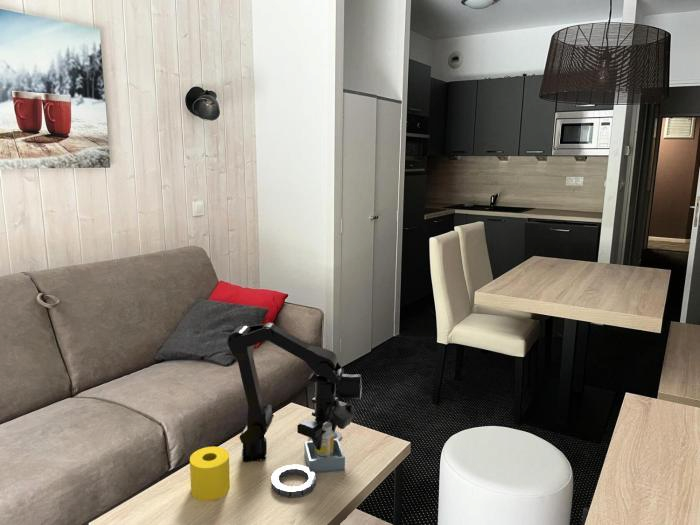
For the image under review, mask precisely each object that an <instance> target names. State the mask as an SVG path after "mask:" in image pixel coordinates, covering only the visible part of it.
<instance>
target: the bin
mask: <svg viewBox="0 0 700 525" xmlns="http://www.w3.org/2000/svg"><path fill="white" fill-rule="evenodd" d="M303 445H304V450H303V451H304V458H305V463H306V462H307V463H306V467H308V468H309V469H311V470H312V471H314V473H315V474H318V473H319V474H320V473H330V472H341V471H345V470H346V457H345V454H344V451H343V449H342V445H341V443H340V439H339V440H338V439H334V442H333V455H332V456H331V457H330V458H323V459H320V458H318V457H316V455H315V445H314V443H313V441H312V440H311V441H310V440H309V441H304V444H303Z"/></svg>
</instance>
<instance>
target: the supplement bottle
mask: <svg viewBox="0 0 700 525" xmlns="http://www.w3.org/2000/svg"><path fill="white" fill-rule="evenodd" d="M323 430H324V431H326V432H325V433H324V434H323V435H322V441H321V448H320V450H318V449H316V447H315V455H316V457H318V458H320V459H323V458H330V457H331V456H332V455H333V442H334V432H333V430H332V424H331V423H330V422H326V423H325V424H323Z"/></svg>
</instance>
